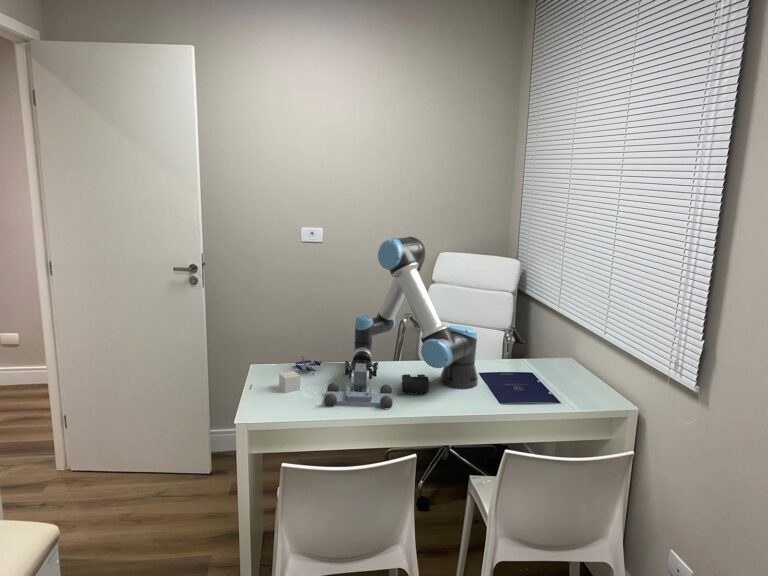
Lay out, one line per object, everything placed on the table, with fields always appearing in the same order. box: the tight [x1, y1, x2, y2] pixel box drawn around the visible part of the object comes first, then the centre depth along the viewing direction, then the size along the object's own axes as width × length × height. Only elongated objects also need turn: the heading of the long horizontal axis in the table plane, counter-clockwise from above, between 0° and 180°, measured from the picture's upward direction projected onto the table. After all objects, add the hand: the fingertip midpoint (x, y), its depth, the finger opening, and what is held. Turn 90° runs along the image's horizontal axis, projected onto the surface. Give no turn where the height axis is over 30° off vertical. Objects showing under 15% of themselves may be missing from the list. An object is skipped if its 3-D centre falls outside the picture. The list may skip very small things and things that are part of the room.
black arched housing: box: [400, 374, 430, 394], centre depth 221 cm, size 10×7×7 cm
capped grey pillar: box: [352, 363, 368, 393], centre depth 222 cm, size 5×5×10 cm
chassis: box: [323, 382, 393, 409], centre depth 212 cm, size 24×12×4 cm, turn 90°
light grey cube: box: [278, 370, 301, 394], centre depth 220 cm, size 6×6×6 cm
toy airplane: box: [291, 355, 323, 376], centre depth 239 cm, size 13×14×4 cm
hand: (359, 379), depth 217 cm, fingers closed on capped grey pillar, 5 cm apart
